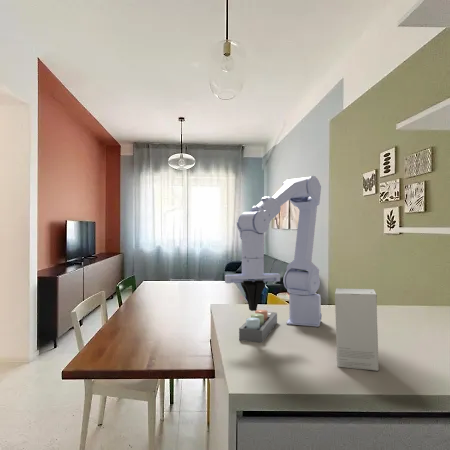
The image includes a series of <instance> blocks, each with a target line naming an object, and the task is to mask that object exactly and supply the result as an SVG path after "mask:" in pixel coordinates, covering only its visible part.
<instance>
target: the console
mask: <svg viewBox="0 0 450 450" xmlns="http://www.w3.org/2000/svg"><path fill="white" fill-rule="evenodd" d="M277 323H278V312H273V311H268V320H267V321H266V320H264V325H260V329H259V330H255V329H246V322H244V323H243V325H241V326H240V327H239V328H238V333H239V335H238V337H239V338H238V339H239V341H244V342H251V343H252V342H254V343H263V342H264V341H265V339H266V338H267V337H268V336H269V334H270V333H271V332H272V330H273V329H274V327H275V326H276V325H277Z"/></svg>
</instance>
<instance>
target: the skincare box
mask: <svg viewBox="0 0 450 450" xmlns="http://www.w3.org/2000/svg"><path fill="white" fill-rule="evenodd" d="M377 300H378V295H377V293H376V291H375V289H374V288H347V287H346V288H345V287H344V288H341V287H336V288H335V292H334V306H335V307H334V308H335V309H334V311H335V312H334V313H335V333H336V334H335V335H336V336H335V337H336V338H335V339H336V342H335V343H336V366H337V368H344V369H345V368H346V369H354V370H355V369H357V370H368V371H374V372H375V371H376V372H377V371H379V369H380V366H379V365H380V364H379V339H378V334H379V333H378V330H379V329H378V304H377V303H378V301H377Z"/></svg>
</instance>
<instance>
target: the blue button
mask: <svg viewBox="0 0 450 450" xmlns="http://www.w3.org/2000/svg"><path fill="white" fill-rule="evenodd" d="M245 323H246V329H255V330H259V329H260V319H259V318H251V317H248V318H246V319H245Z"/></svg>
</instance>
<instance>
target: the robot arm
mask: <svg viewBox="0 0 450 450" xmlns="http://www.w3.org/2000/svg"><path fill="white" fill-rule="evenodd" d="M321 192H322V185H321V183H320V181H319V179H318V178H317V176H315V175H310V176H304V177H296V178H287V179H285V181H283V182H282V186H281V187H280V188H279V189H278V190H277V191H276V193H274V194H273V195H272V196H263V197H261V199H260V200H261V201H259V203H257V204H256V205H253V206H252V207H251V209H250V210H249V211H244V212H242V213H241V214H240V215H239V216H238V219H237V222H236V228H237V230H238V232H239V238H240V240H241V273H237V274H236V273H235V274H225V275H224V283H225V284H235V283H240V286H241V287H242V290H243V292H244V295H245V296H246V301H247V304H248V310H249V311H251V312H255V311H256V310H258V304H259V301H260V299H261V295H262V293H263V291H264V289H265V287H266V283H265V282H281V274H280V273H278V272H277V273H275V272H271V273H267V272H265V263H264V262H265V258H264V257H265V254H264V252H265V249H264V246H265V244H264V243H265V242H264V239H265V238H264V237H265V235H264V234H265V233H266V232H267V231H268V229H269V226H270V224H271V221H272V220H273V219H274V218H276V216H278V215H279V214H280V213H281V207H282V206H283V205H285V204H286V203H287V202H288V201H290V203H291V204H292V205H293V206H294V207H296V208H297V209H298V210H299V211H298V220H297V221H298V223H297V229H296V240H295V247H294V248H295V249H294V258H293V260H292V261H291V262H289V263H287V265H286V269H285V273H284V276H283V278H282V279H283V281H282V282H283V286H284V288H285V289H286V290H287V291H286V292H287V293H289V295H288V296H289V302H288V303H289V305H288V307H289V310H288V311H289V316H288V317H289V318H288V319H287V320H286V323H285V324H287V325H294V326H296V325H297V326H306V327H318V328H320V325H321V322H322V314H323V313H322V311H321V310H322V304H321V303H322V299H321V298H322V297H321V296H322V295H321V294H319V293H317V292H318V290H319V289H320V285H321V282H320V281H321V280H320V269H319V268H318V266H317V265H315V263H314V262H312V259H313V251H314V250H313V249H314V240H315V232H316V230H315V229H316V221H317V212H318V206H319V205H320V201H321Z"/></svg>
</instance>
